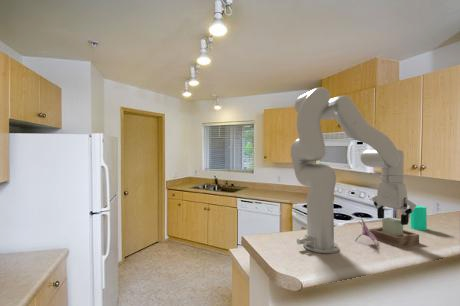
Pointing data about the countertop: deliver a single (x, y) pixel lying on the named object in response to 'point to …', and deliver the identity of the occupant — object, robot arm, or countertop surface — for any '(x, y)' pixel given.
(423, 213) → the candle
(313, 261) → the countertop surface
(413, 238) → the base block
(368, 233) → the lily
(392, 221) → the sage block
